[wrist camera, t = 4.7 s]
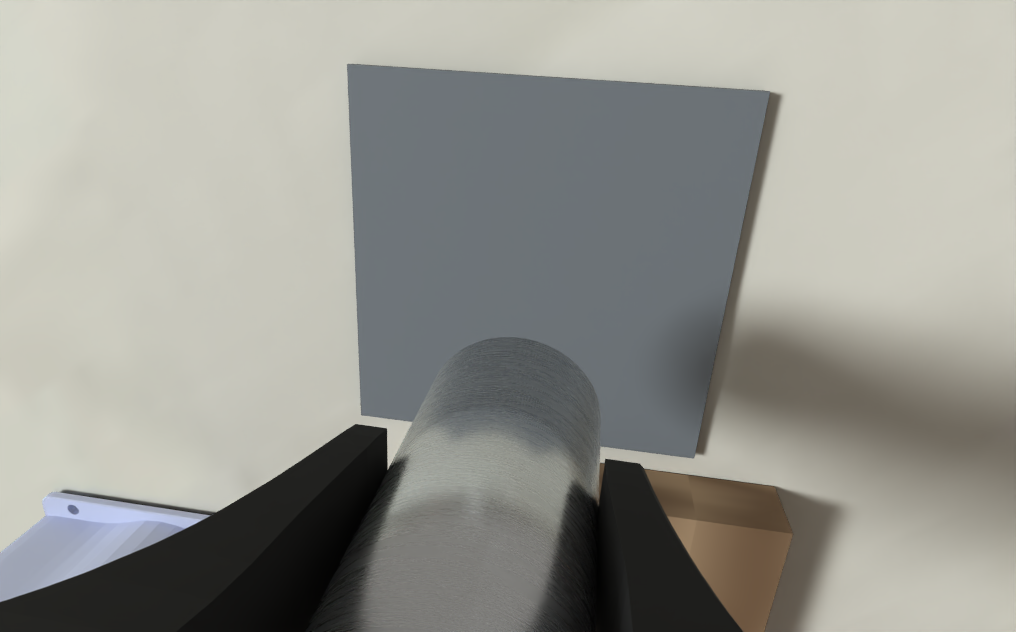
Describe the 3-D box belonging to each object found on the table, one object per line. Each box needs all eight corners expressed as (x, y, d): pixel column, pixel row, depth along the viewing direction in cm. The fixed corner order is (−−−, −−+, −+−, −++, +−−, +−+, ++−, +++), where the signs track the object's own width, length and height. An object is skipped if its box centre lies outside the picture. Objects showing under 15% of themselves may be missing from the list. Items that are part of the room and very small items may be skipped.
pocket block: (438, 667, 28) (424, 719, 26) (442, 442, 23) (426, 482, 21) (712, 715, 27) (721, 773, 24) (774, 486, 22) (793, 534, 20)
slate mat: (365, 409, 23) (361, 415, 23) (352, 63, 19) (347, 64, 18) (692, 451, 22) (694, 458, 22) (766, 91, 17) (769, 91, 17)
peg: (434, 476, 16) (280, 857, 8) (425, 331, 14) (224, 646, 7) (595, 491, 15) (583, 913, 8) (605, 342, 13) (601, 698, 6)
